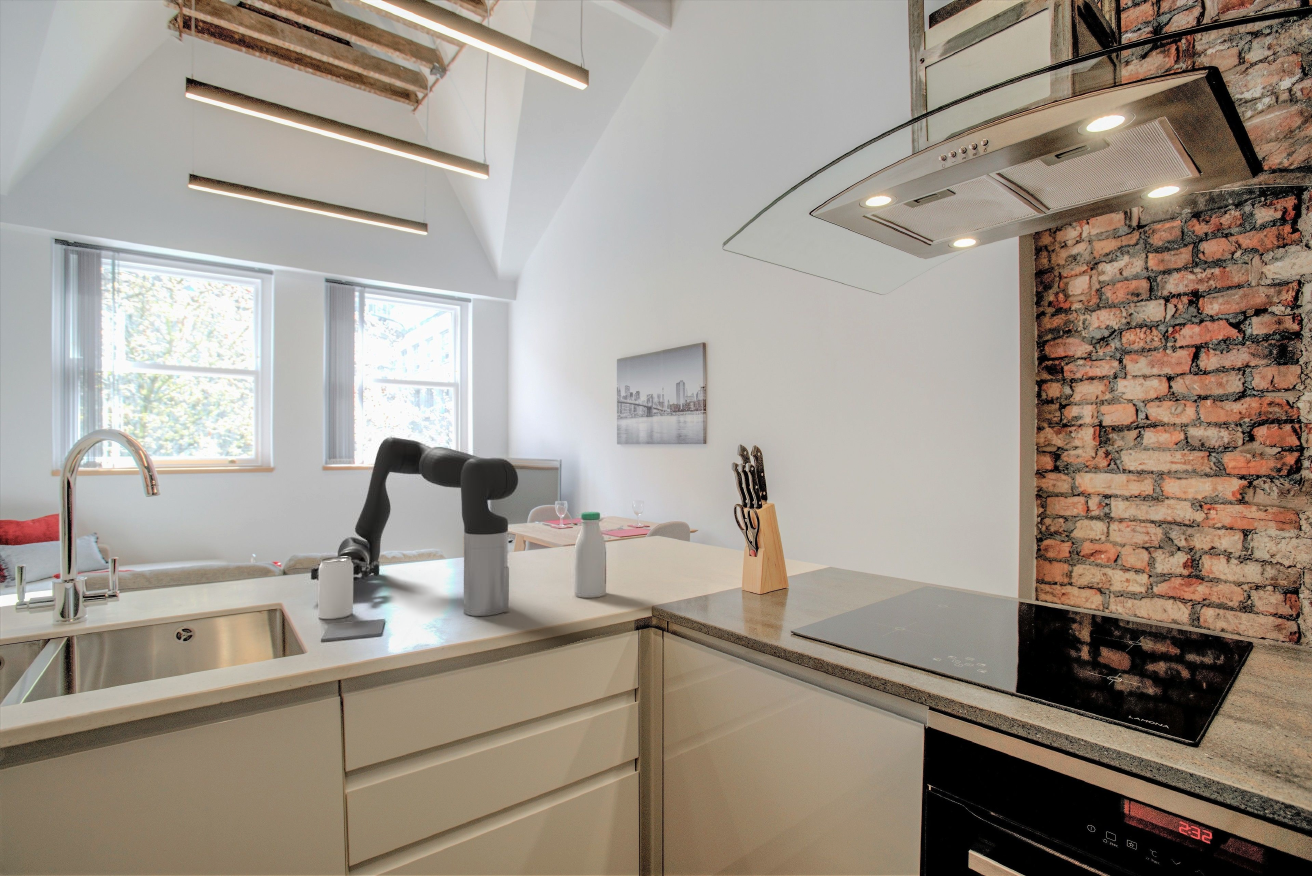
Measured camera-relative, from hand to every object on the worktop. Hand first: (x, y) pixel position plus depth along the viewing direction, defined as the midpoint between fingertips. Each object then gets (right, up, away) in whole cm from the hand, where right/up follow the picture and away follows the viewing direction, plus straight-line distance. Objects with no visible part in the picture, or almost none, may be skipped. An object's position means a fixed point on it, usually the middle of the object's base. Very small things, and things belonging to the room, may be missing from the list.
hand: (342, 576), depth 134 cm
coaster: (+13, -6, -19) cm, 24 cm away
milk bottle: (+55, -7, +10) cm, 56 cm away
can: (+3, -7, -9) cm, 11 cm away
